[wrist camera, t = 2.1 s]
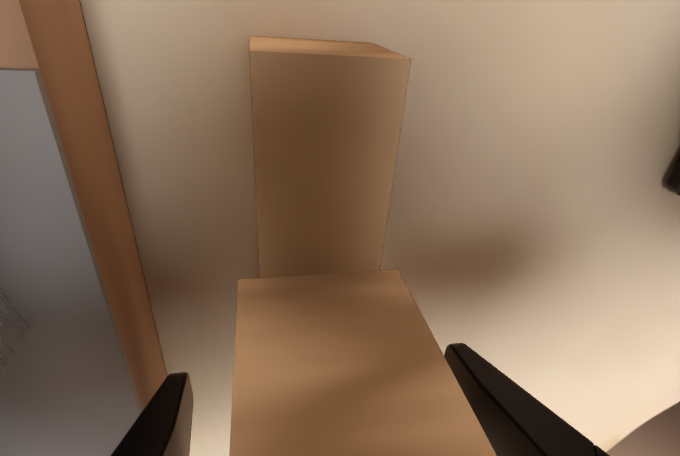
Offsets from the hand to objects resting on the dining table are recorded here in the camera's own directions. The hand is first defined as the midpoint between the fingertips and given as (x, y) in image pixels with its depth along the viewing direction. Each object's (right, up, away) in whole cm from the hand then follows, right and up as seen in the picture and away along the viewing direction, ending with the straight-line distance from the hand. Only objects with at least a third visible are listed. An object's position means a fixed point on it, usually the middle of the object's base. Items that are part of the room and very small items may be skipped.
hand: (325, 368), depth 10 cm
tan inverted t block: (-1, +2, +4) cm, 4 cm away
